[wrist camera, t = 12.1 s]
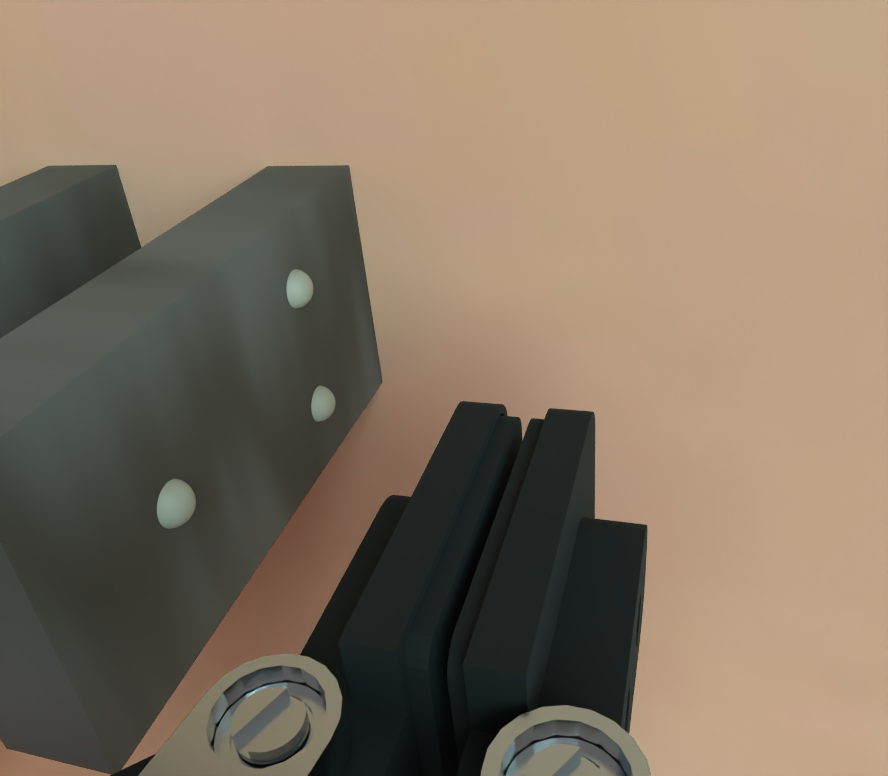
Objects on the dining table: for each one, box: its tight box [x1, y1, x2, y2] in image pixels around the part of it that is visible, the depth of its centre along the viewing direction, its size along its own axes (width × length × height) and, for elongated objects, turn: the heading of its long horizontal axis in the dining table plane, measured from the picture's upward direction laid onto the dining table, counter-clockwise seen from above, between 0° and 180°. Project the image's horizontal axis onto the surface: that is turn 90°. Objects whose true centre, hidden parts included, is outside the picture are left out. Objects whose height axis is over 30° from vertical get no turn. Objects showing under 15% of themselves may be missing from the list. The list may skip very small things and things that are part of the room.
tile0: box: [0, 166, 382, 775], centre depth 13 cm, size 5×2×10 cm, turn 7°
